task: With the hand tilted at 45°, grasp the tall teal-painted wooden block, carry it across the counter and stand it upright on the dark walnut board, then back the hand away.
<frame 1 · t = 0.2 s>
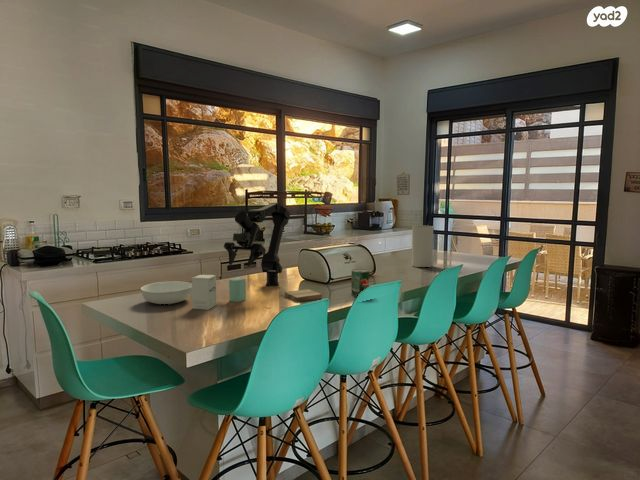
hand: (238, 265, 195), 14 cm above the kitchen island, tool tilted 35°, fingers open, 9 cm apart
teal block: (237, 300, 192), on the kitchen island
walnut board: (302, 298, 196), on the kitchen island
canned tomato: (360, 294, 202), on the kitchen island
supplement box: (204, 307, 180), on the kitchen island
cylinder vase: (422, 266, 277), on the kitchen island
serving bowl: (167, 302, 188), on the kitchen island
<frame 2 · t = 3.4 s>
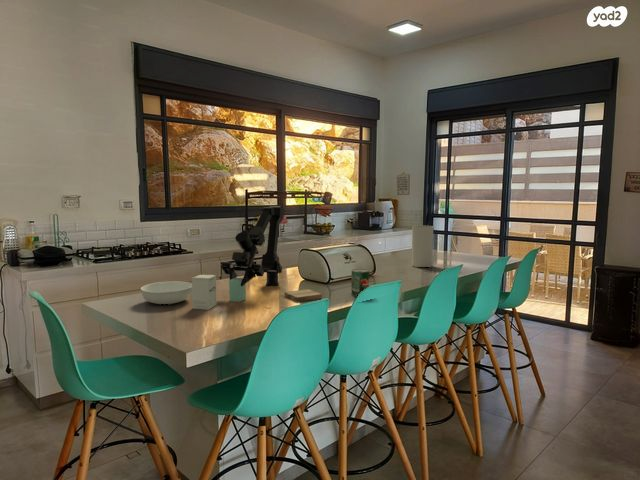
hand: (235, 285, 190), 7 cm above the kitchen island, tool tilted 45°, fingers closed on teal block, 5 cm apart
teal block: (237, 299, 192), on the kitchen island, touching gripper
everything else where it was.
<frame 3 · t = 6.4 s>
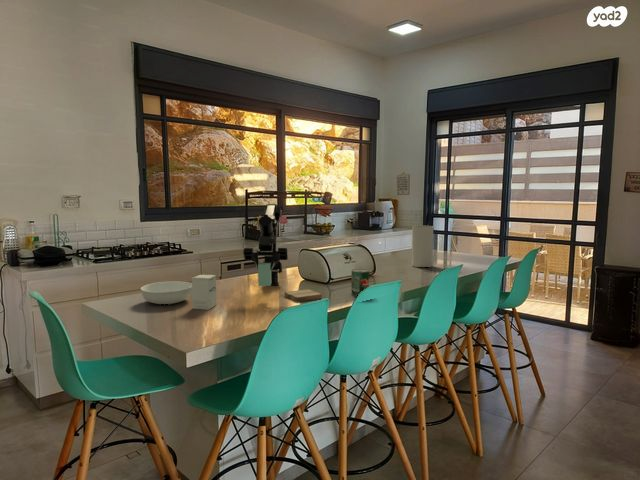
hand: (264, 269, 188), 13 cm above the kitchen island, tool tilted 45°, fingers closed on teal block, 5 cm apart
teal block: (265, 284, 190), point 7 cm above the kitchen island, touching gripper
everything else where it was.
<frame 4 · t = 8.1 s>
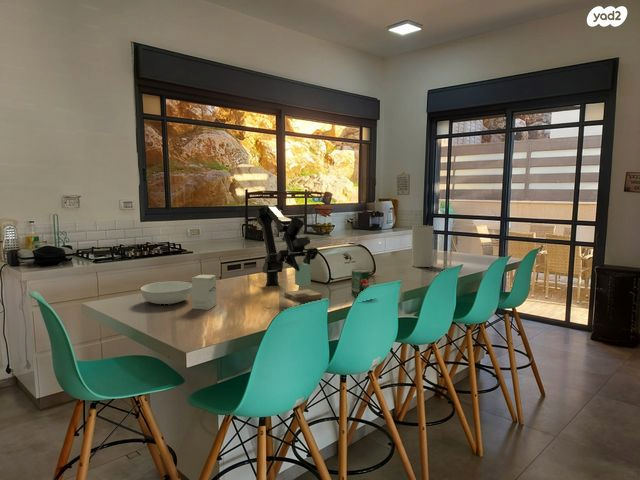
hand: (304, 270, 193), 12 cm above the kitchen island, tool tilted 45°, fingers closed on teal block, 5 cm apart
teal block: (302, 284, 195), point 6 cm above the kitchen island, touching gripper
everything else where it was.
when the fingers open (10 cm above the kitchen island, at t = 9.4 s): teal block drops 2 cm, resting on walnut board.
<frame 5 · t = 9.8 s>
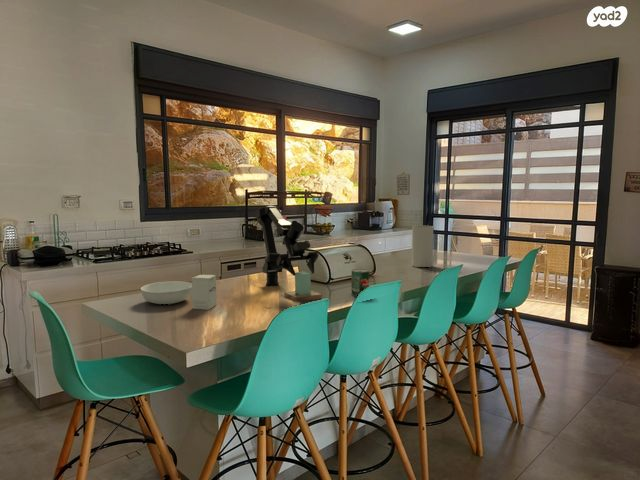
hand: (304, 274, 193), 11 cm above the kitchen island, tool tilted 45°, fingers open, 9 cm apart
teal block: (302, 293, 196), point 2 cm above the kitchen island, touching walnut board
walnut board: (302, 298, 196), on the kitchen island, touching teal block
everything else where it was.
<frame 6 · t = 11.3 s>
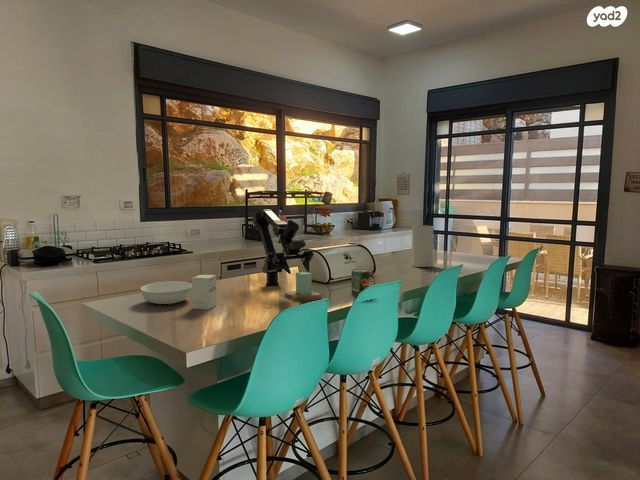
hand: (299, 272, 197), 11 cm above the kitchen island, tool tilted 45°, fingers open, 9 cm apart
nothing on the kitchen island moved.
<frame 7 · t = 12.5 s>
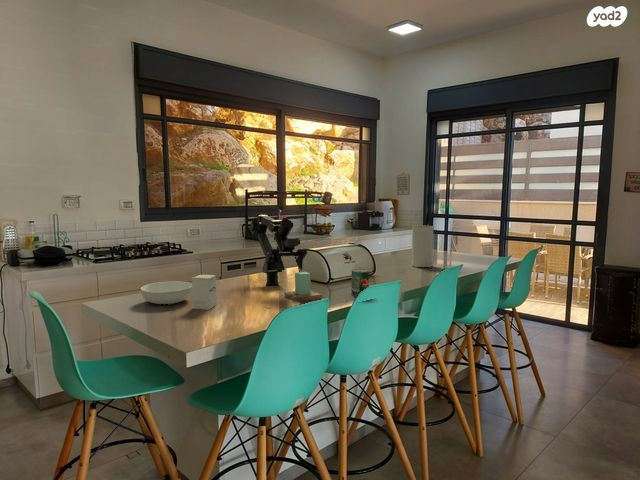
hand: (292, 269, 202), 11 cm above the kitchen island, tool tilted 45°, fingers open, 9 cm apart
nothing on the kitchen island moved.
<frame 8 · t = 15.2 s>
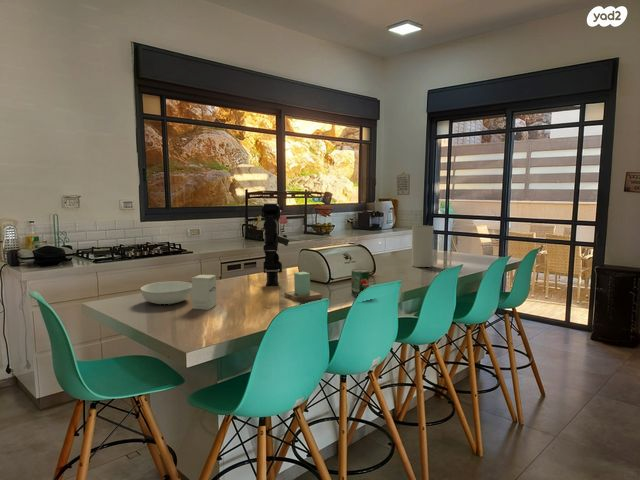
hand: (271, 263, 207), 13 cm above the kitchen island, tool pointing down, fingers open, 9 cm apart
teal block: (302, 293, 195), point 2 cm above the kitchen island
walnut board: (302, 298, 196), on the kitchen island
everything else where it was.
at the end: teal block inside the target area on the walnut board (0.4 cm from its centre), point 2.5 cm above the walnut board's base; teal block tilted 0°; the gripper is holding nothing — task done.
